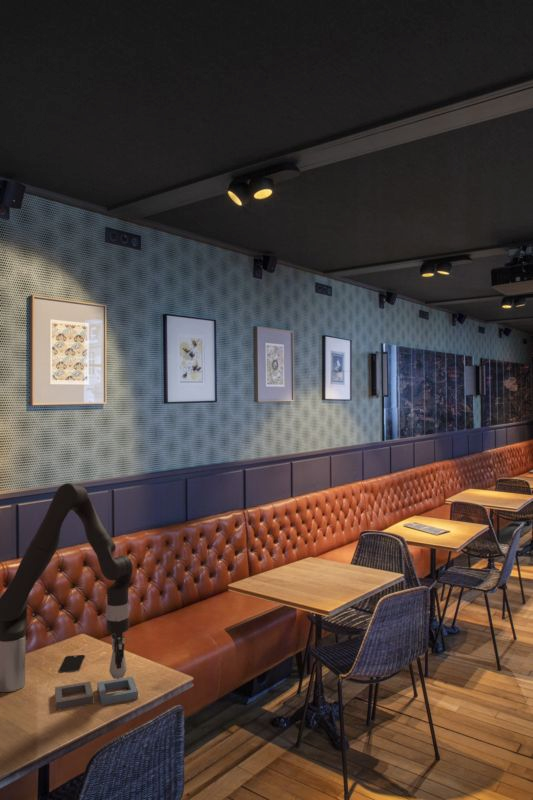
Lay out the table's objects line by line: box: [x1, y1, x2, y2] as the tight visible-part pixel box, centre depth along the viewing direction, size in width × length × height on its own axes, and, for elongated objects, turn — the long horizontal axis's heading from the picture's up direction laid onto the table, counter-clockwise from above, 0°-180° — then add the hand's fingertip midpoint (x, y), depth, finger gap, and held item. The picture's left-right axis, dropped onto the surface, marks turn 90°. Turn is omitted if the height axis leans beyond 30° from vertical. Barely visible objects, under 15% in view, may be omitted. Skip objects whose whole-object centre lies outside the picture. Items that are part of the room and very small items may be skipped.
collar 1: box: [54, 681, 94, 711], centre depth 195 cm, size 12×12×2 cm
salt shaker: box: [108, 639, 128, 680], centre depth 199 cm, size 6×6×13 cm
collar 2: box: [96, 676, 139, 706], centre depth 198 cm, size 12×12×2 cm
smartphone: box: [57, 654, 86, 674], centre depth 223 cm, size 8×1×15 cm
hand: (117, 666), depth 198 cm, fingers closed on salt shaker, 3 cm apart
